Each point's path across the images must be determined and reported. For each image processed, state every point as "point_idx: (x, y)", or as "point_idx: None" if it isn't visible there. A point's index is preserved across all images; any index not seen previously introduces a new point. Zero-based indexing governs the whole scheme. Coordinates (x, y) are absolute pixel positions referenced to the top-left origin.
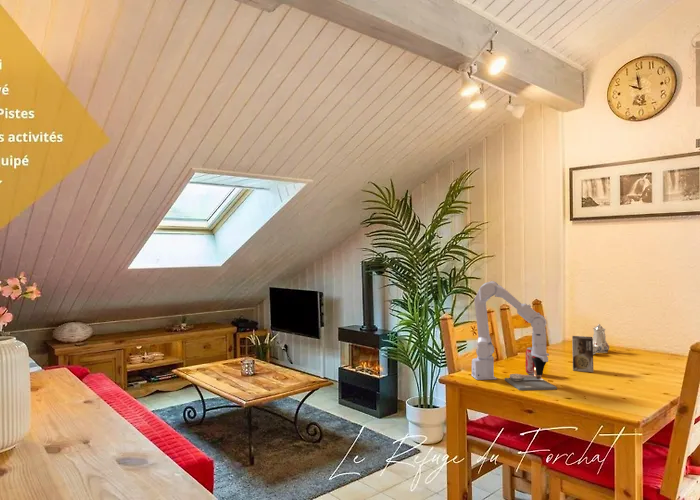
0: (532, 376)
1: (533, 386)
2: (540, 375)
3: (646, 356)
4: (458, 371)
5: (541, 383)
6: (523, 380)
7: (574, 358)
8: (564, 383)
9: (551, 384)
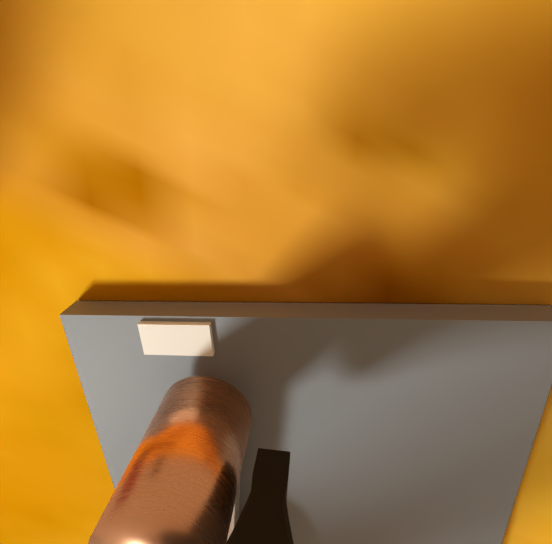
0: (236, 498)
1: (464, 523)
2: (237, 434)
3: None
4: None
5: (361, 413)
6: None
7: None
8: (260, 25)
9: (428, 327)
